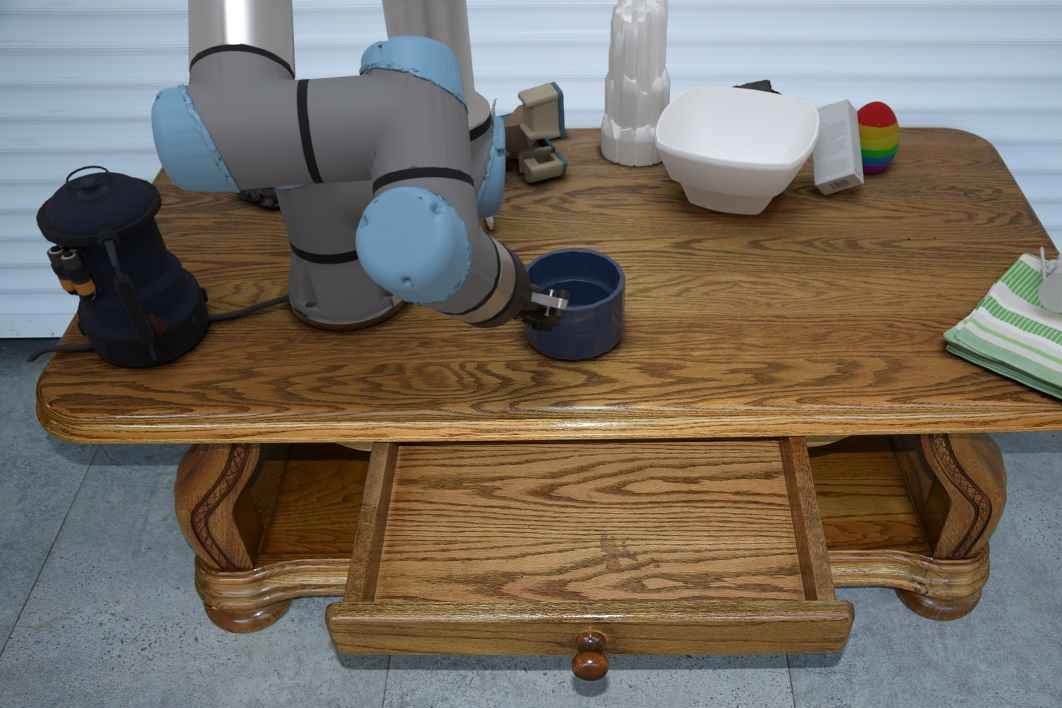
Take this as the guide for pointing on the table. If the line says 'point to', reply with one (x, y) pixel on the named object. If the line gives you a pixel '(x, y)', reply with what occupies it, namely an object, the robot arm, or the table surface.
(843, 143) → the cosmetic box
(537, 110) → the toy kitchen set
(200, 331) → the dark blue bag
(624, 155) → the decorative vase
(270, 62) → the robot arm
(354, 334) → the table surface
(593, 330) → the glazed bowl
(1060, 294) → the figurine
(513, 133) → the wooden block
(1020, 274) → the dish towel
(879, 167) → the decorative egg
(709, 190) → the bowl
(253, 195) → the rock
